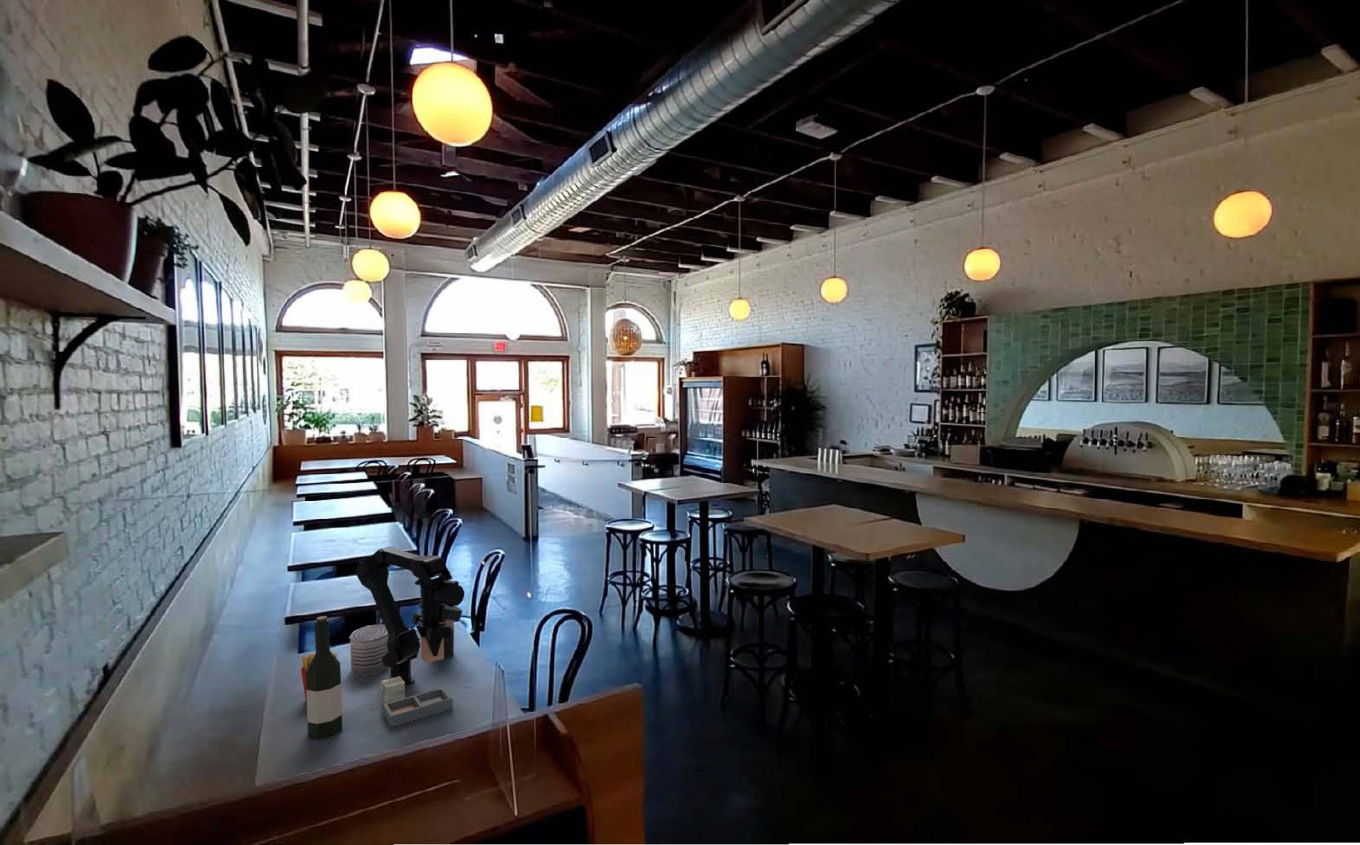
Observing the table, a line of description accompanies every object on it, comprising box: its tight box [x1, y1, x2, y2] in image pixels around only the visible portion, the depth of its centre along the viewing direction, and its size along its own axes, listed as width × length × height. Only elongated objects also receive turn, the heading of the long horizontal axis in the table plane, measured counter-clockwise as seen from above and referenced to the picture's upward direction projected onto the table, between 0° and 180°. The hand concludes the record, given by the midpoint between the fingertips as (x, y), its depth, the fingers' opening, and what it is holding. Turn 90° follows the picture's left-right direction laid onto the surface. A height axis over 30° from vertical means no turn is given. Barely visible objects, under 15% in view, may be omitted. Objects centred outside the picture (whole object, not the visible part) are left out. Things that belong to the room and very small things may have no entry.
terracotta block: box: [420, 636, 445, 664], centre depth 189 cm, size 5×5×6 cm
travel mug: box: [440, 604, 455, 659], centre depth 215 cm, size 8×8×20 cm
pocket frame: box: [382, 687, 454, 728], centre depth 178 cm, size 8×16×3 cm, turn 127°
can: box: [348, 623, 389, 677], centre depth 205 cm, size 11×11×12 cm
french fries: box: [300, 652, 338, 702], centre depth 185 cm, size 9×4×13 cm, turn 99°
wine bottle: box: [306, 615, 343, 740], centre depth 167 cm, size 8×8×30 cm
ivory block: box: [381, 676, 406, 705], centre depth 183 cm, size 5×5×6 cm
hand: (432, 653), depth 189 cm, fingers closed on terracotta block, 5 cm apart
